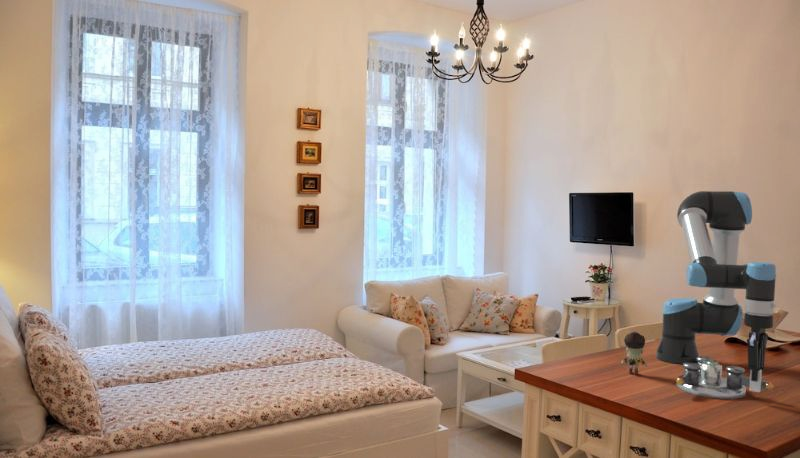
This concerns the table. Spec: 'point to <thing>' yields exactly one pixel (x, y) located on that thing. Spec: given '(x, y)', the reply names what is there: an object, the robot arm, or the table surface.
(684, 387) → the tribrach plate
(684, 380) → the knob
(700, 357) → the knob
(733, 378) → the knob
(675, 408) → the table surface
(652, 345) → the table surface
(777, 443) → the table surface
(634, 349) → the toy
